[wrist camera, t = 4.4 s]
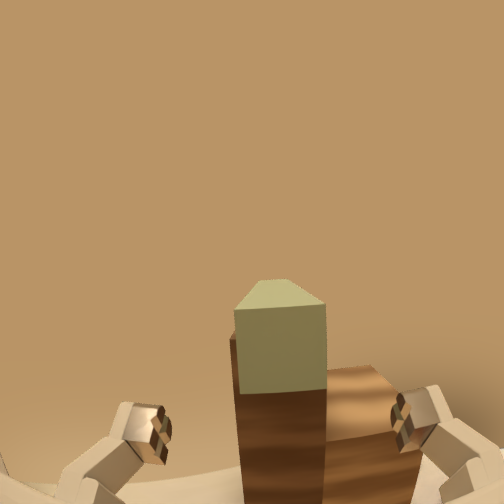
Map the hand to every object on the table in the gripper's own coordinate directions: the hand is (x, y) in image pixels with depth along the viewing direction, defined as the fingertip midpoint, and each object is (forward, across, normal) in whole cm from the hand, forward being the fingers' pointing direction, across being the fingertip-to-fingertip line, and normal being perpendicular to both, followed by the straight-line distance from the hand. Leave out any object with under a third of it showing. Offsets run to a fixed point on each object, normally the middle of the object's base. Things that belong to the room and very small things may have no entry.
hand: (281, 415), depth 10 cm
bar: (+11, 0, +6) cm, 12 cm away
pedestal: (+3, -4, +30) cm, 30 cm away
